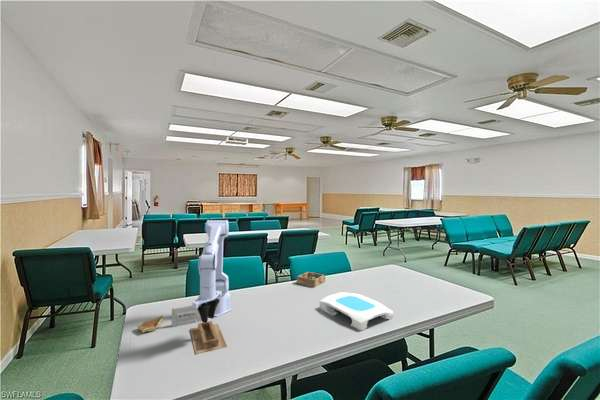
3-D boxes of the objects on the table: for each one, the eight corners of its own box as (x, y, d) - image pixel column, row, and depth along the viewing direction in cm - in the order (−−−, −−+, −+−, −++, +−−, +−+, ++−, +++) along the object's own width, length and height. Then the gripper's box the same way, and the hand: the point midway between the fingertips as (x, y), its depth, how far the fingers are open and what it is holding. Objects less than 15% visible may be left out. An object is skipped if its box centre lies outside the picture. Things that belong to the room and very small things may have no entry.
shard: (163, 318, 124) (162, 314, 124) (171, 324, 120) (171, 320, 119) (136, 328, 116) (136, 324, 116) (144, 334, 111) (144, 330, 111)
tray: (217, 324, 120) (217, 317, 120) (227, 348, 102) (227, 340, 102) (190, 330, 116) (190, 322, 115) (195, 355, 98) (195, 347, 98)
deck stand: (307, 279, 185) (307, 271, 185) (325, 282, 178) (325, 275, 178) (296, 284, 175) (296, 276, 175) (314, 288, 167) (314, 280, 167)
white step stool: (349, 301, 148) (350, 289, 148) (393, 322, 125) (394, 308, 125) (318, 310, 137) (318, 297, 137) (360, 335, 114) (361, 319, 113)
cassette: (171, 327, 118) (171, 309, 117) (171, 325, 119) (171, 308, 119) (201, 322, 123) (201, 304, 123) (201, 320, 125) (201, 303, 125)
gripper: (212, 278, 117) (211, 310, 117) (185, 289, 103) (185, 326, 104) (226, 280, 114) (225, 313, 114) (200, 292, 101) (200, 329, 101)
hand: (207, 319), depth 109 cm, fingers open, 3 cm apart
